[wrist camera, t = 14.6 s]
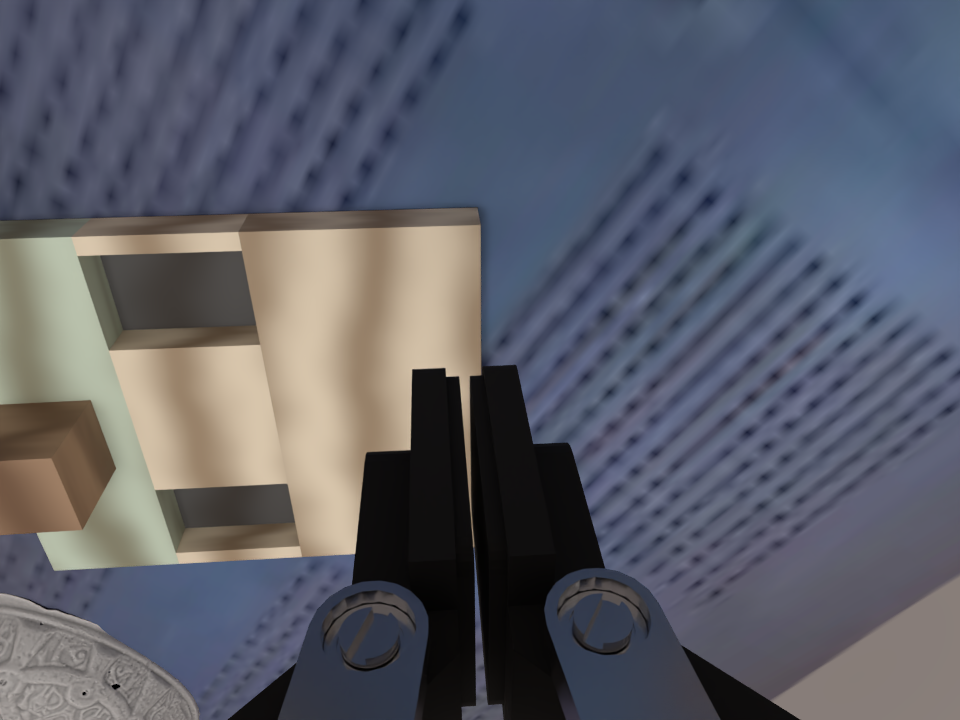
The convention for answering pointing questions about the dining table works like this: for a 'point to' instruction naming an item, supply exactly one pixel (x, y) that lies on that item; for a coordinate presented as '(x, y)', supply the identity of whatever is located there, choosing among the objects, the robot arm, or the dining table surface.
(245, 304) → the board
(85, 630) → the embossed grey dome
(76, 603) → the dining table surface
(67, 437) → the walnut block
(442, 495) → the robot arm
